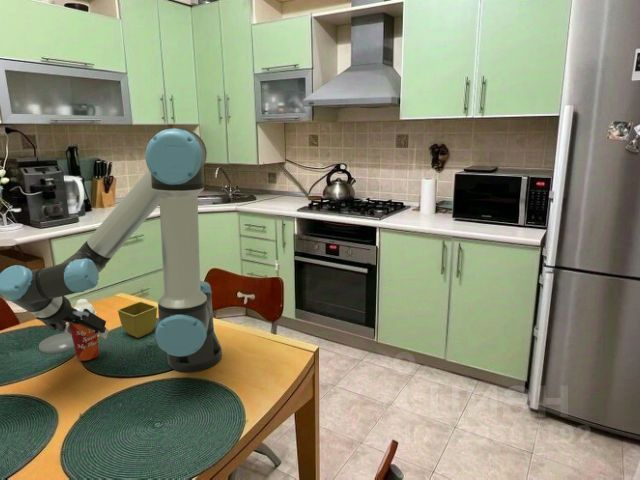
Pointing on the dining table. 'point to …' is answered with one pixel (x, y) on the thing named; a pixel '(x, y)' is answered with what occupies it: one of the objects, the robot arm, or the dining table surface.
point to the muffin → (82, 304)
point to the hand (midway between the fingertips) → (92, 334)
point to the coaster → (57, 344)
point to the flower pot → (138, 318)
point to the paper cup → (84, 339)
